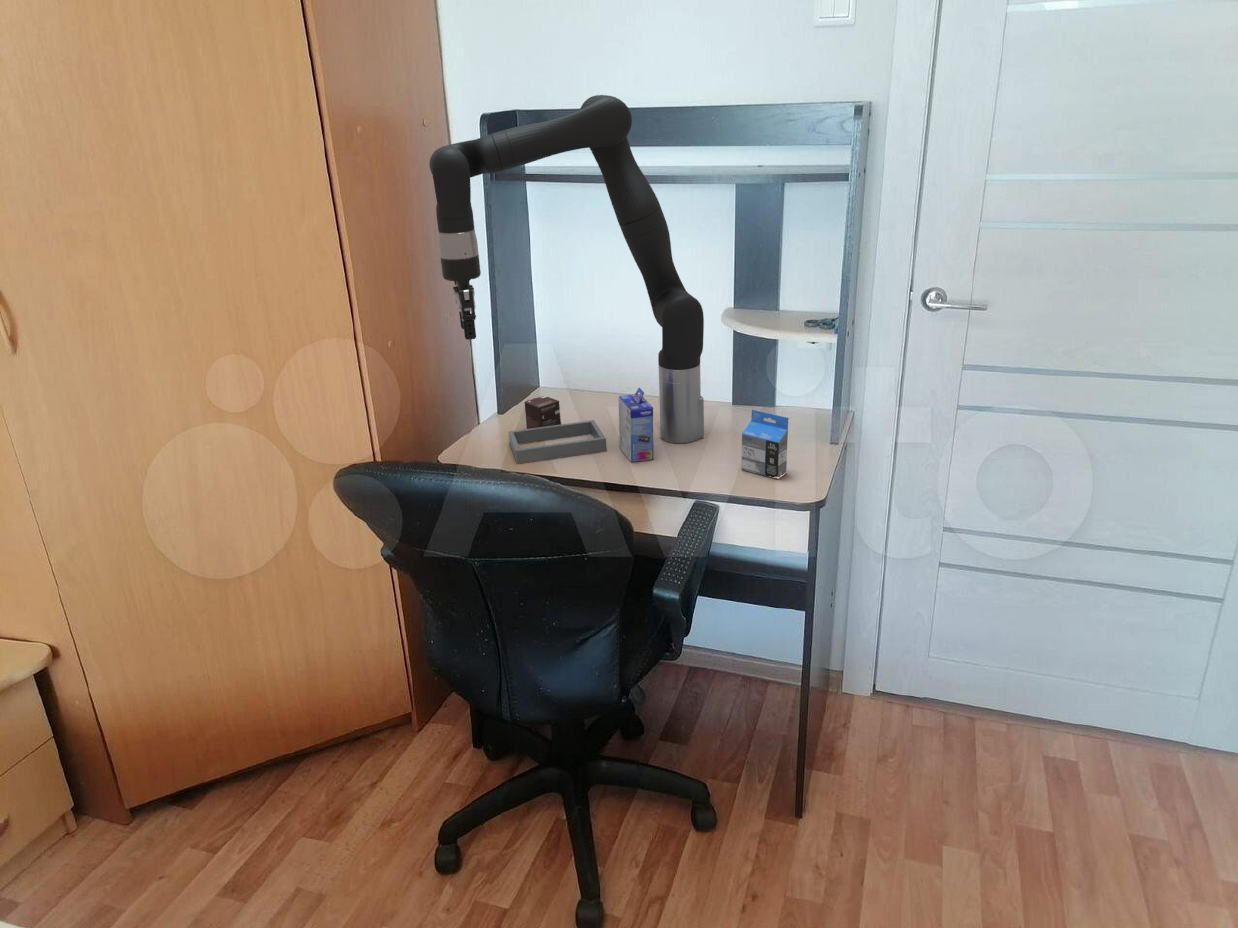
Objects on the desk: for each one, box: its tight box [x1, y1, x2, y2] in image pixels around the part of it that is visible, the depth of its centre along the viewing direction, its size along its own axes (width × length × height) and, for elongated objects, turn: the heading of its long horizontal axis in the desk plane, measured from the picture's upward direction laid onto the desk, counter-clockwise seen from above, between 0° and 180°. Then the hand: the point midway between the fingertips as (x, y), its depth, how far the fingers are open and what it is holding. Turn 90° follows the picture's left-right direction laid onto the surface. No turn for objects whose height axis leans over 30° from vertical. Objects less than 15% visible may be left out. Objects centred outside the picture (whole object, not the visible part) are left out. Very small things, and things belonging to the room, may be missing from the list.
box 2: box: [507, 419, 608, 464], centre depth 203 cm, size 20×12×3 cm, turn 104°
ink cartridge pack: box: [741, 409, 789, 477], centre depth 185 cm, size 9×4×12 cm, turn 51°
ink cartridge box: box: [618, 387, 655, 463], centre depth 196 cm, size 10×6×14 cm, turn 16°
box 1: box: [524, 395, 562, 429], centre depth 213 cm, size 6×6×7 cm
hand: (468, 333), depth 185 cm, fingers open, 8 cm apart
